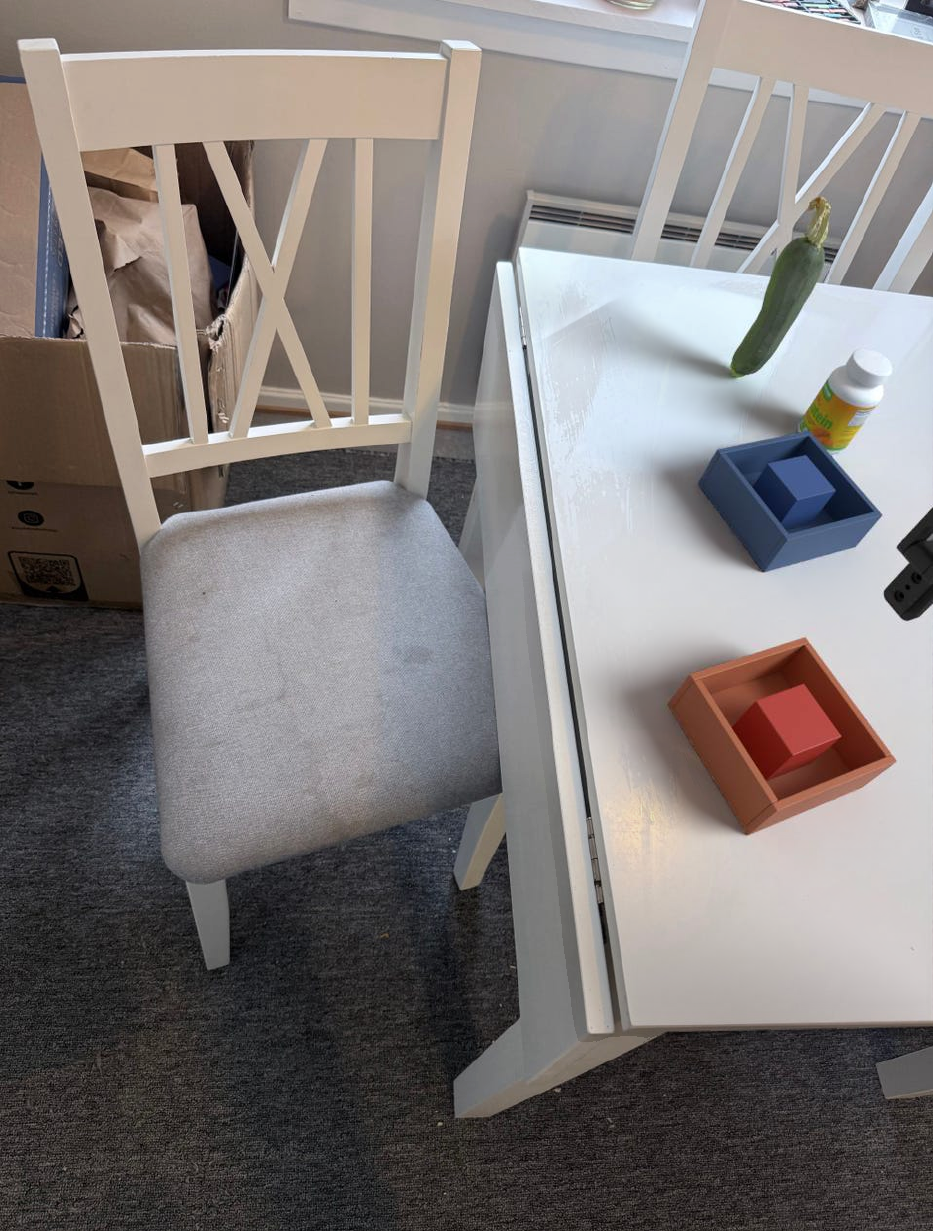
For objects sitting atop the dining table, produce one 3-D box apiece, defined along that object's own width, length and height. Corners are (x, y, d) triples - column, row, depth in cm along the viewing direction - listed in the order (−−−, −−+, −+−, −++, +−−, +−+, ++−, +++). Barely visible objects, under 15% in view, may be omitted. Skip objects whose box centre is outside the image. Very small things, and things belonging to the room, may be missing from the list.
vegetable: (764, 384, 92) (866, 207, 76) (744, 399, 89) (844, 221, 73) (732, 362, 93) (824, 184, 77) (711, 376, 91) (802, 196, 75)
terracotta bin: (863, 787, 64) (897, 761, 60) (747, 835, 60) (777, 811, 56) (778, 666, 69) (805, 636, 65) (667, 704, 65) (689, 673, 61)
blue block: (810, 524, 79) (836, 490, 75) (772, 534, 77) (797, 499, 74) (782, 489, 81) (805, 454, 77) (745, 498, 79) (767, 463, 76)
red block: (809, 764, 63) (842, 736, 60) (762, 783, 62) (792, 755, 58) (775, 713, 66) (804, 683, 62) (728, 730, 64) (755, 700, 60)
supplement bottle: (786, 423, 88) (834, 346, 80) (825, 416, 90) (875, 340, 82) (816, 459, 85) (869, 383, 78) (855, 451, 87) (911, 376, 80)
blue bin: (856, 547, 79) (883, 514, 75) (763, 572, 75) (787, 540, 71) (787, 463, 84) (809, 430, 81) (697, 483, 80) (716, 449, 77)
